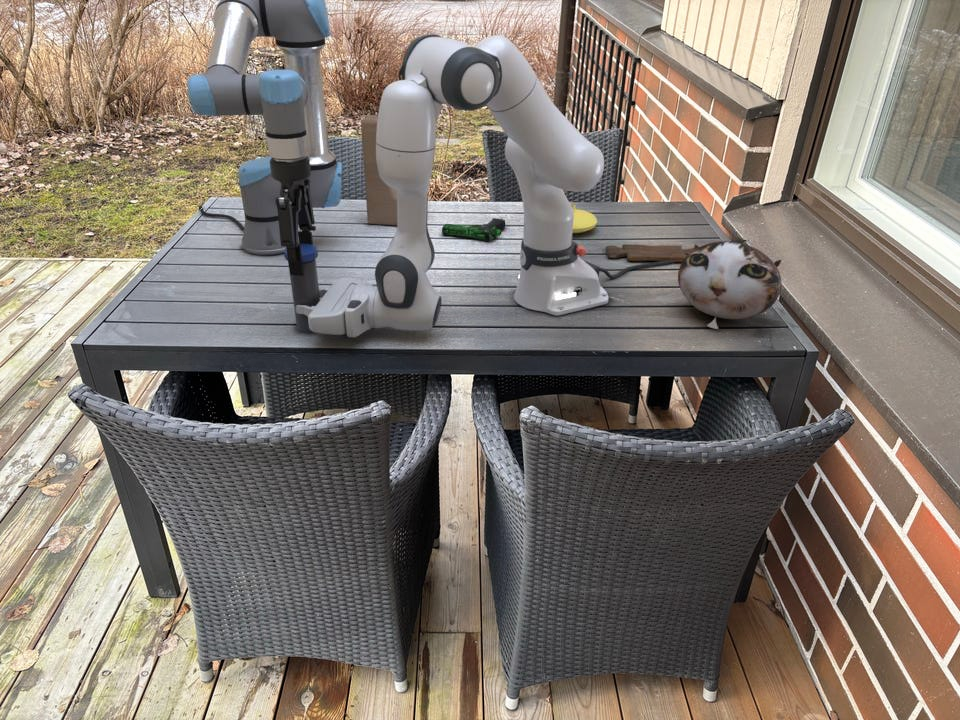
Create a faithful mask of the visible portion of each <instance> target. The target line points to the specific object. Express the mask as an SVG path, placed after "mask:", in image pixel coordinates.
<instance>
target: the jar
mask: <svg viewBox="0 0 960 720" xmlns="http://www.w3.org/2000/svg"><path fill="white" fill-rule="evenodd" d="M316 259H317V258H316ZM316 259H314V260H312V261H309V262H303V270H304V275H303V276H297V275H290V274H289V278H290V286H291V287H290V288H291V295H292V302H293V308H294V309H293V311H294V316H295V325H296V330H297V331H298V332H300V333H303V334H311V333H312V334H313V333H314V332H313V331H311V330H310V328H309V322H308V316H306V315H304V314H298V313H296V306H297V305H298V304H299V303H301V304H302V303H304V304H306V306H308V307H311V306H316V305H317V304H318V302H319V301H320V300H321V298H320V294H319V289H320V287H319V277H318V268H317V260H316ZM287 264H288V266H289V263H288V262H287ZM288 271H289V270H288ZM289 273H290V271H289Z"/></svg>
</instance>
